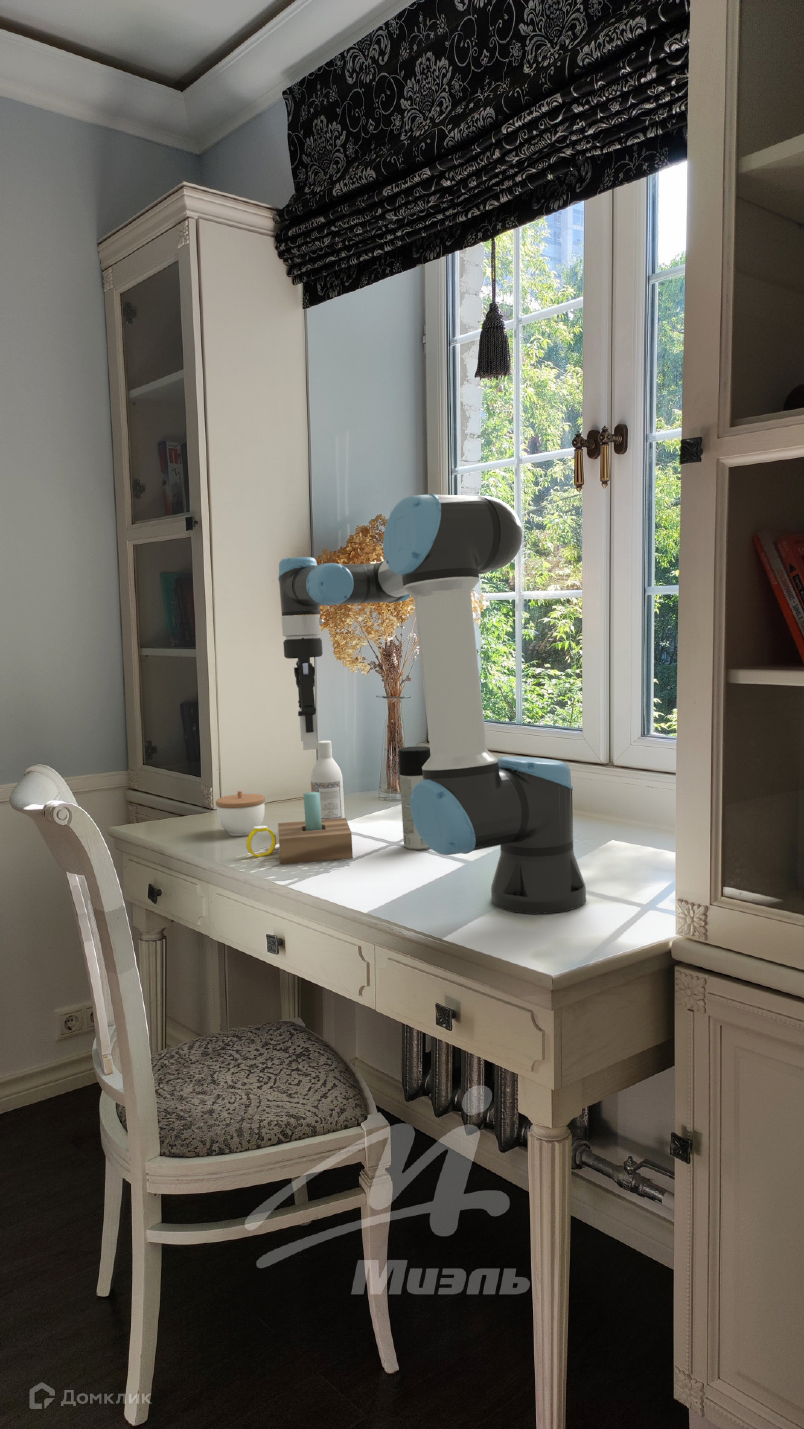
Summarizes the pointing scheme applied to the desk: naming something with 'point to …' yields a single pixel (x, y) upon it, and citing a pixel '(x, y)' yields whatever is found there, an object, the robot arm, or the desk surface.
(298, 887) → the desk surface
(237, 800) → the lidded jar
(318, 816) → the peg
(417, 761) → the spray can
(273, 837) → the watch
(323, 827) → the socket
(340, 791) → the bath foam
